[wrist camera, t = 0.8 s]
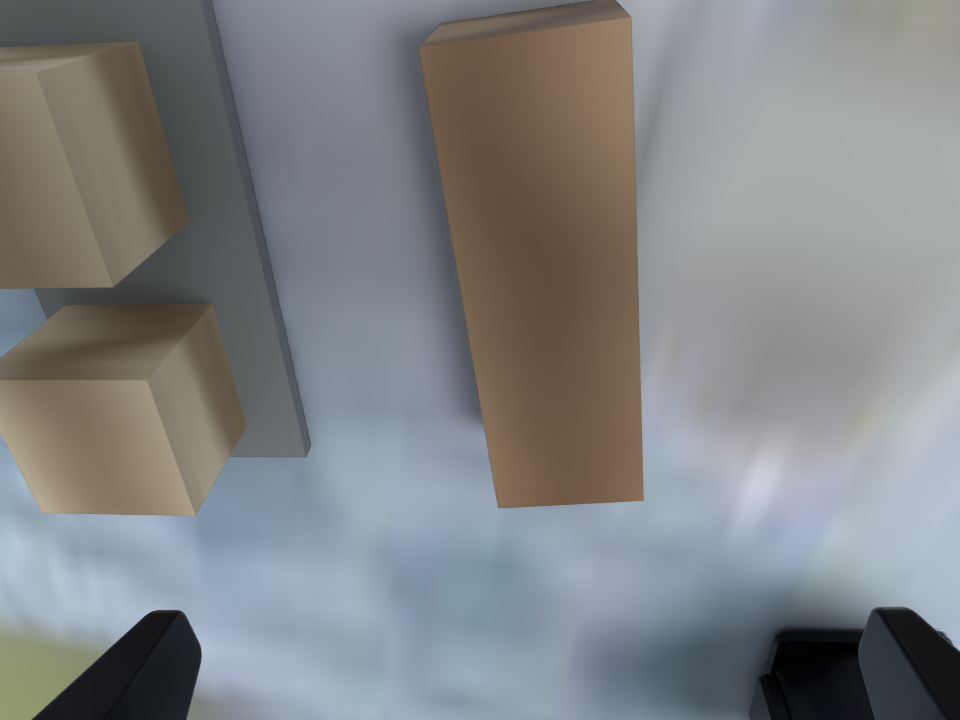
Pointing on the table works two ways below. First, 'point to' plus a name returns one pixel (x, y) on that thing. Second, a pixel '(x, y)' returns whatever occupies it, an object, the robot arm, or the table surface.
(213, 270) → the mat
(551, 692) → the table surface
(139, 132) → the pillar near
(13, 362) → the pillar far
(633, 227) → the lintel
